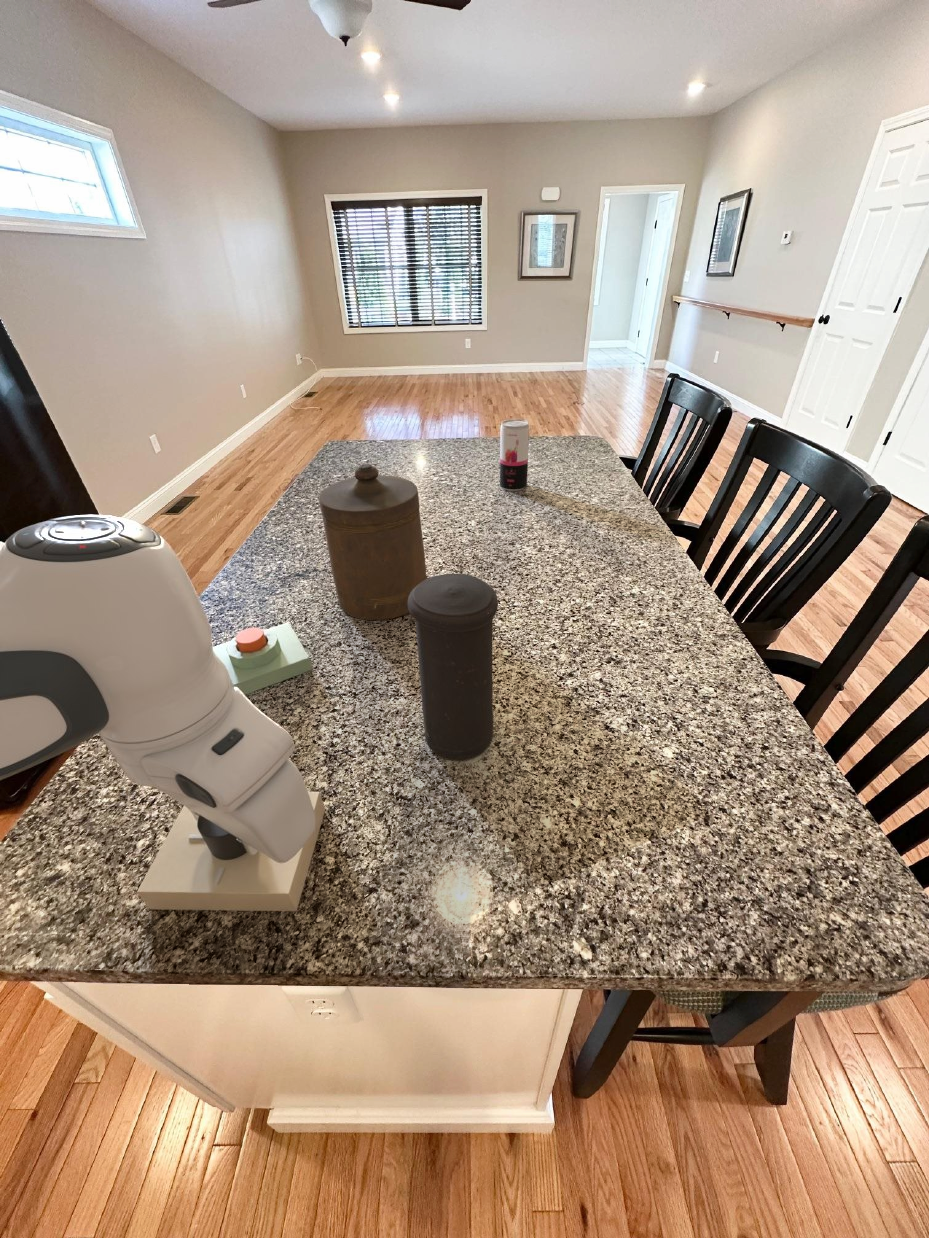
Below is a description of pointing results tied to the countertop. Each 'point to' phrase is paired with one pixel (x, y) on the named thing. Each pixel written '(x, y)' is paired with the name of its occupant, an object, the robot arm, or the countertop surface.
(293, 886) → the panel
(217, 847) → the timer knob
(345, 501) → the wooden container
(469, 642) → the container
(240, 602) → the countertop surface
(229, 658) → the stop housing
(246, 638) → the stop button
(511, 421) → the beverage can
